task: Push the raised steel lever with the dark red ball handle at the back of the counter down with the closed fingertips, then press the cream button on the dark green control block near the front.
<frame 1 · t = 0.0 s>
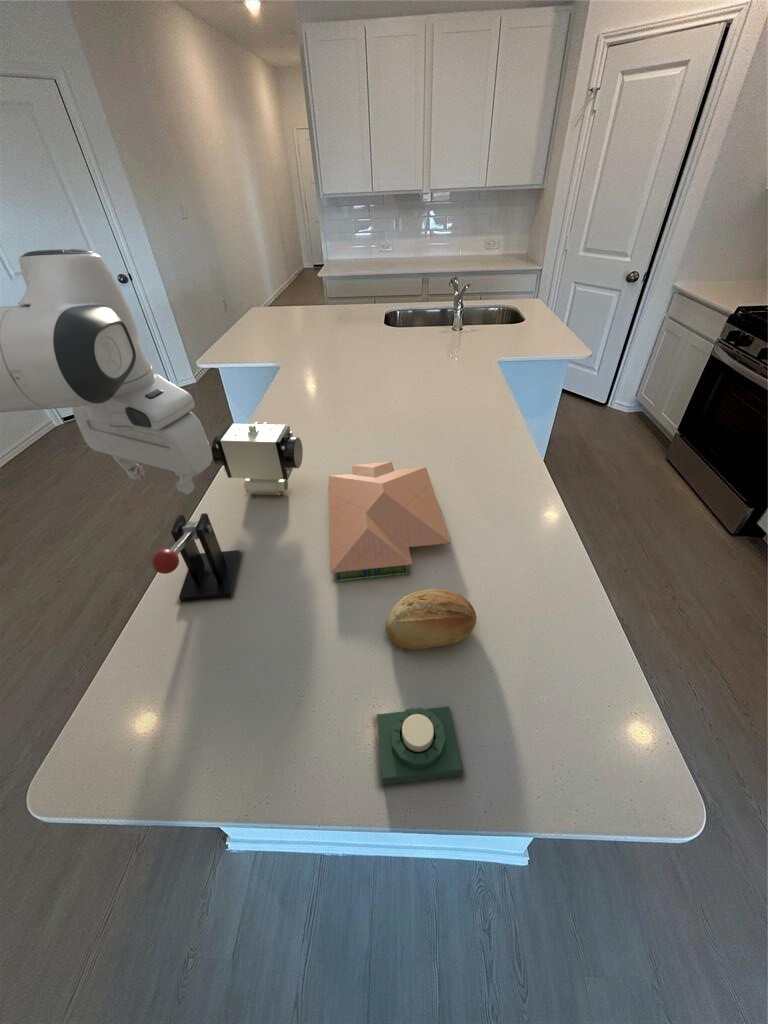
hand: (162, 484, 64), 25 cm above the counter, tool pointing down, fingers open, 8 cm apart
house: (384, 521, 94), on the counter
control block: (417, 747, 59), on the counter
button: (417, 732, 56), point 4 cm above the counter, slide at 0.1 cm
bracket: (212, 576, 83), on the counter
ball valve: (269, 491, 104), on the counter
bread roll: (431, 633, 72), on the counter
lever: (179, 545, 70), point 14 cm above the counter, hinge at 20.0°
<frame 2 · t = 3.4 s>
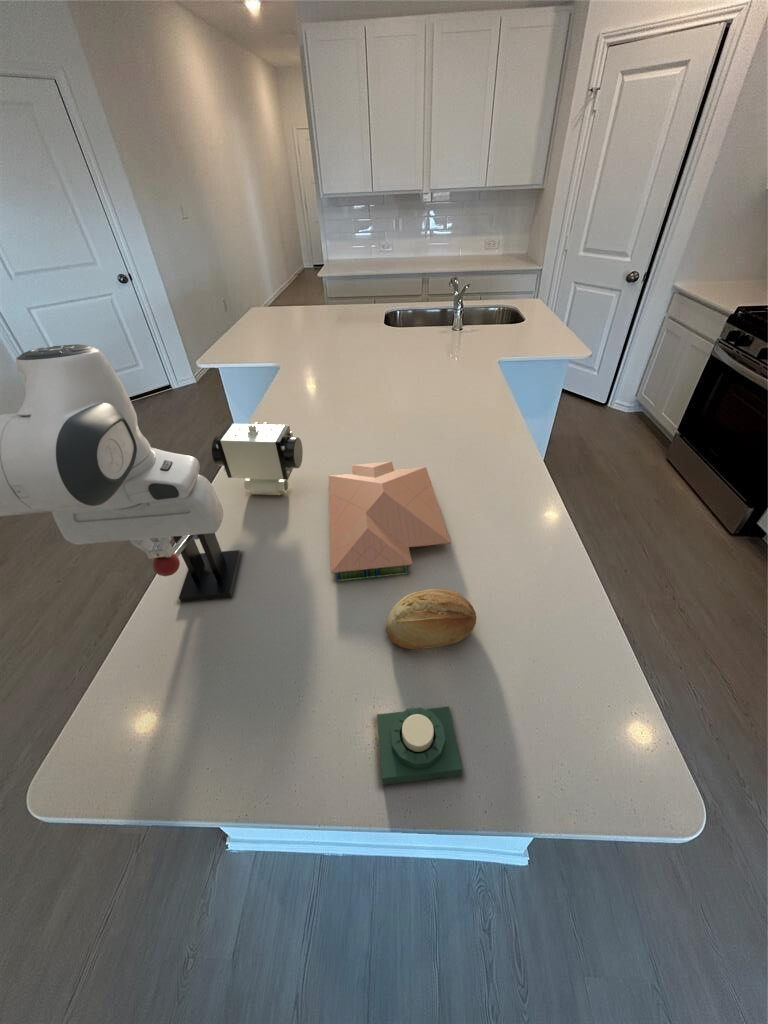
hand: (161, 555, 63), 18 cm above the counter, tool pointing down, fingers closed, pressing on lever
lever: (180, 546, 70), point 14 cm above the counter, hinge at 17.9°, touching gripper
everything else where it was.
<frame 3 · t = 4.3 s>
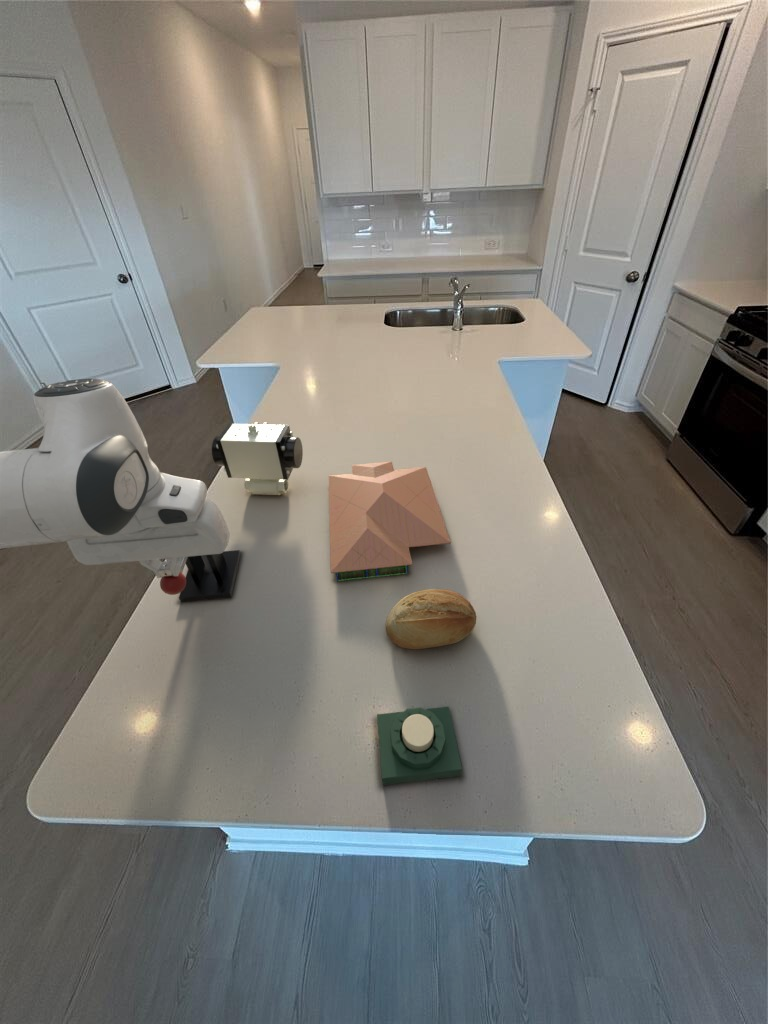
hand: (169, 573, 65), 14 cm above the counter, tool pointing down, fingers closed, pressing on lever
lever: (183, 555, 71), point 12 cm above the counter, hinge at 0.7°, touching gripper
everything else where it was.
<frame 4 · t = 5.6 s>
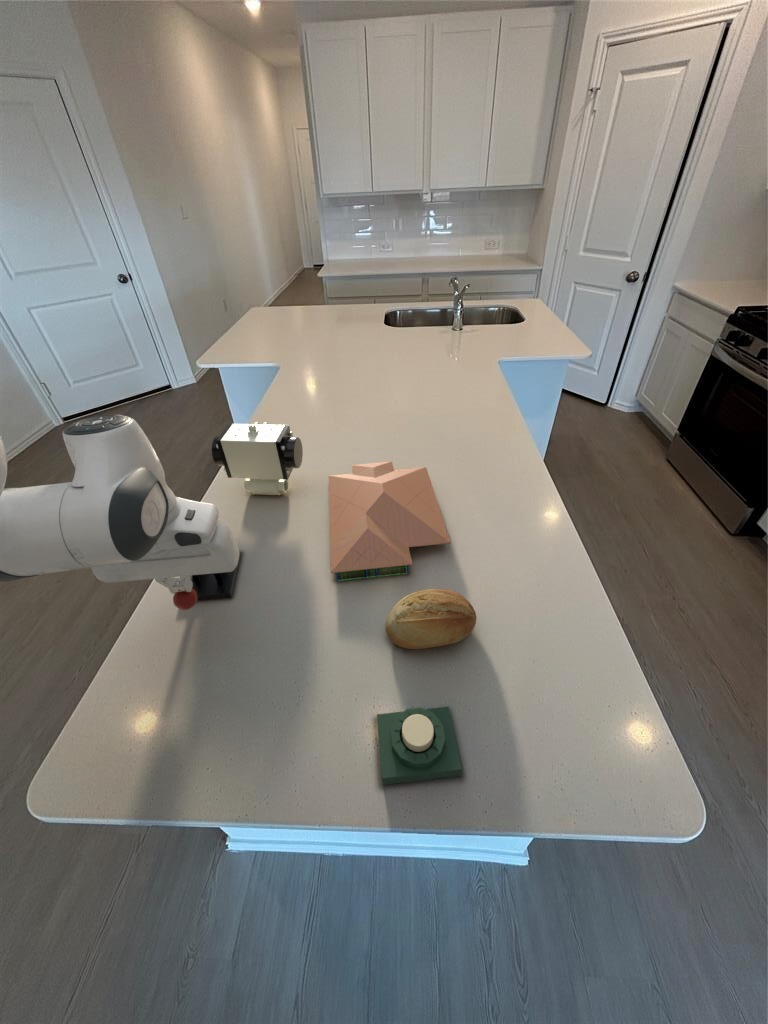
hand: (182, 589, 69), 9 cm above the counter, tool pointing down, fingers closed, pressing on lever
lever: (189, 564, 73), point 10 cm above the counter, hinge at -23.4°, touching gripper
everything else where it was.
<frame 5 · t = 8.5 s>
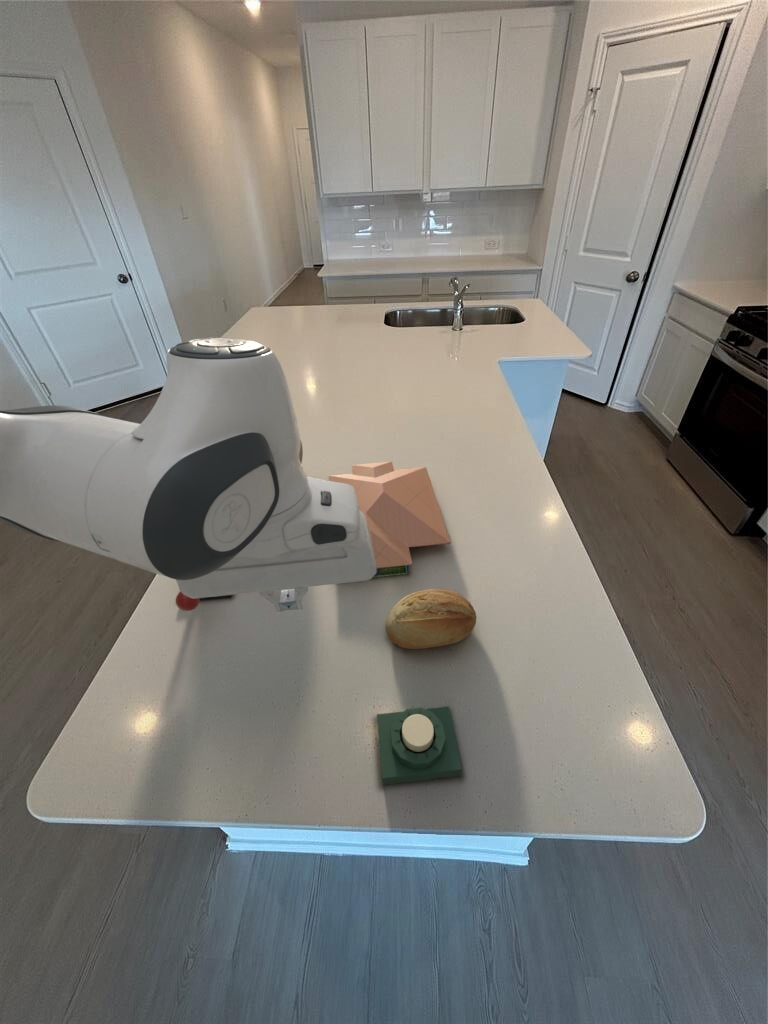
hand: (290, 605, 50), 22 cm above the counter, tool pointing down, fingers closed
lever: (190, 565, 73), point 9 cm above the counter, hinge at -28.2°
everything else where it was.
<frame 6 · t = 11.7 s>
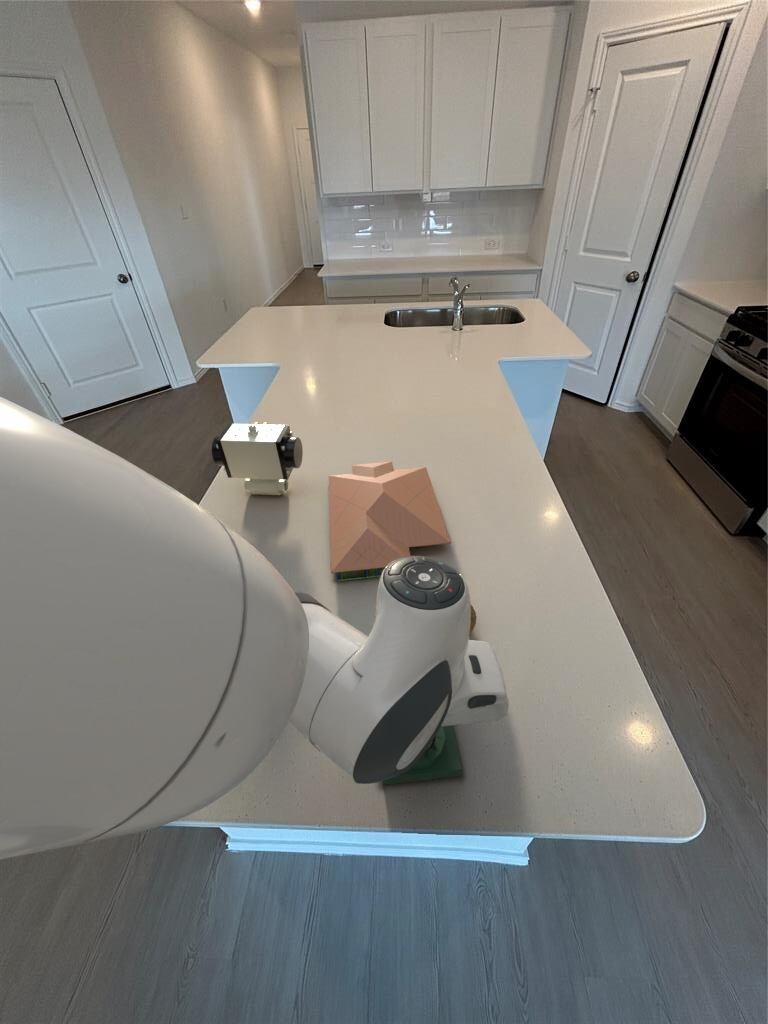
hand: (418, 732, 56), 4 cm above the counter, tool pointing down, fingers closed, pressing on button
button: (417, 735, 56), point 4 cm above the counter, slide at -0.8 cm, touching gripper
everything else where it was.
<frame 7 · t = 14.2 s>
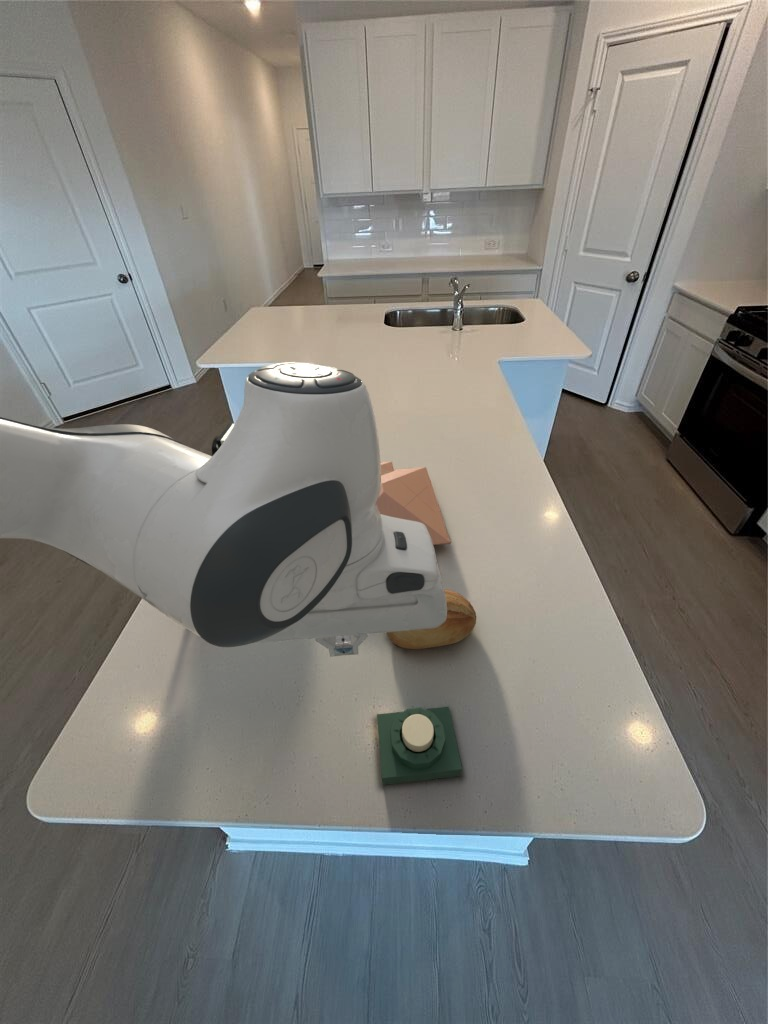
hand: (344, 649, 46), 22 cm above the counter, tool pointing down, fingers closed
button: (417, 732, 56), point 4 cm above the counter, slide at 0.1 cm
everything else where it was.
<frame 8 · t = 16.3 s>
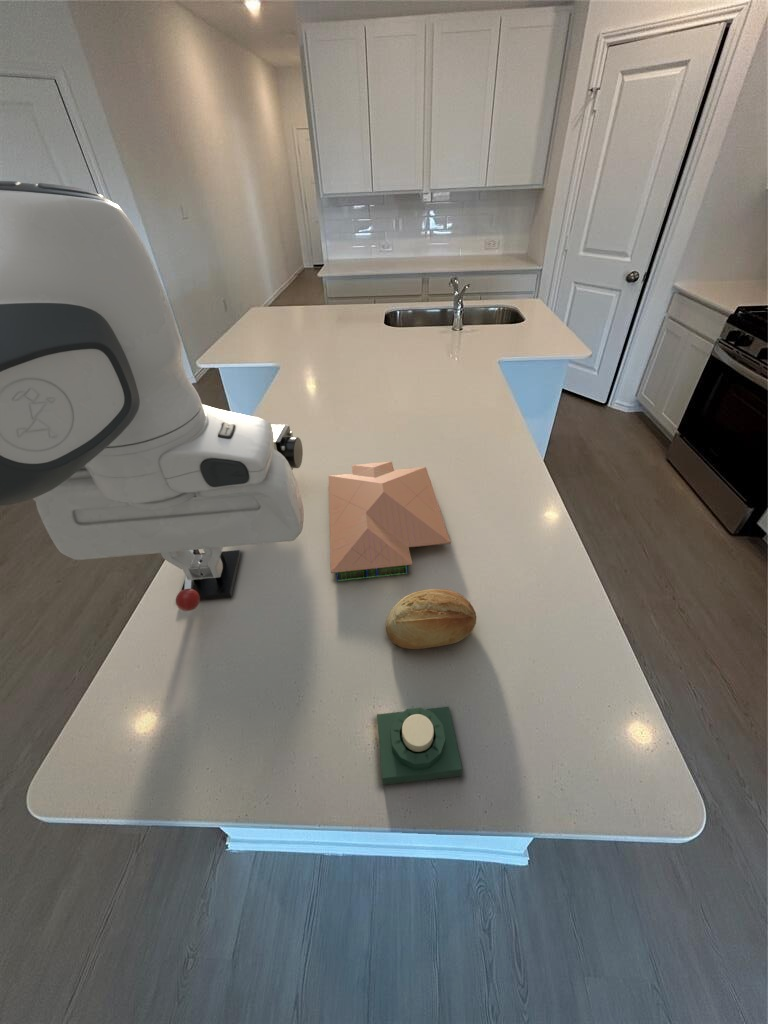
hand: (206, 573, 42), 31 cm above the counter, tool pointing down, fingers closed
nothing on the counter moved.
at the end: lever at -28° (first picture: +20°); button pushed in 1.0 cm at the most during the clip, back to where it started at the end; button slide at 0.1 cm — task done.
